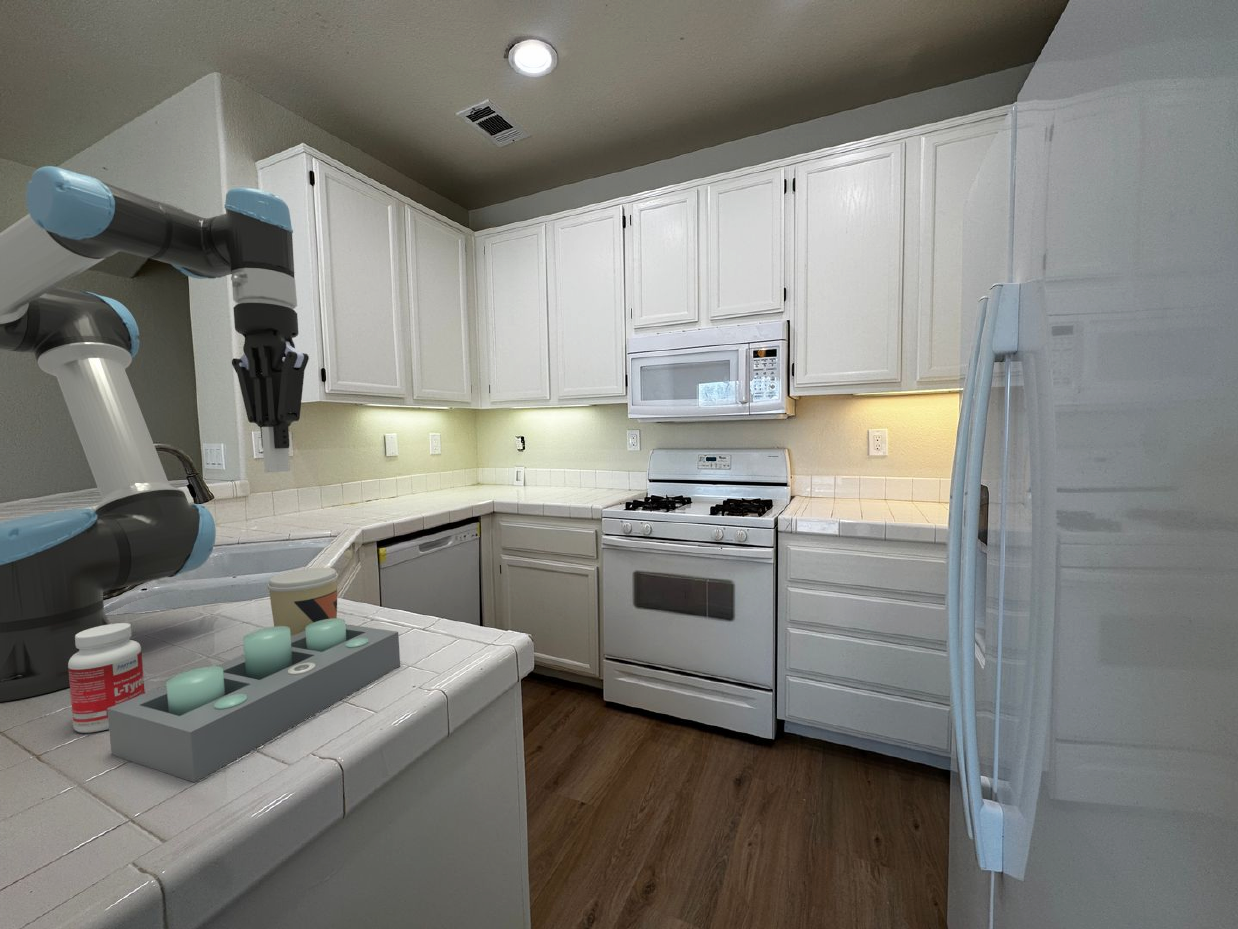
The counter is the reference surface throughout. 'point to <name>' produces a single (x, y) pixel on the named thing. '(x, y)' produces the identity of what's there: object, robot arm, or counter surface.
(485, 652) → the counter surface
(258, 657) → the button
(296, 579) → the coffee cup
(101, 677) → the pill bottle
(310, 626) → the button
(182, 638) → the counter surface
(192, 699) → the button
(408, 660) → the counter surface
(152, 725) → the board
